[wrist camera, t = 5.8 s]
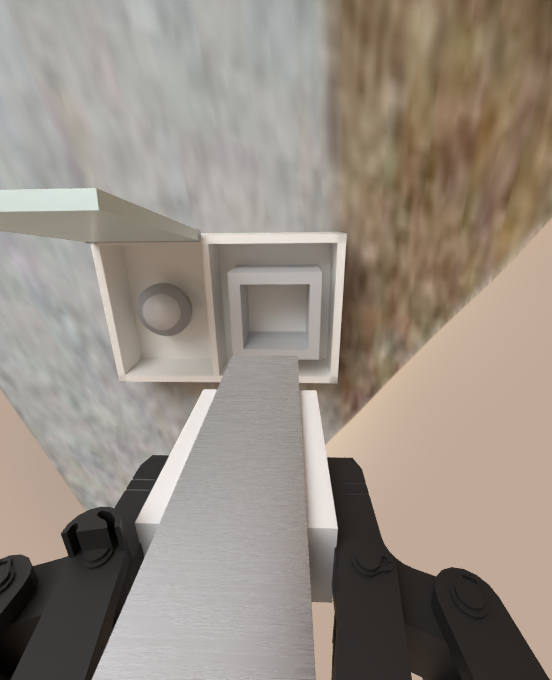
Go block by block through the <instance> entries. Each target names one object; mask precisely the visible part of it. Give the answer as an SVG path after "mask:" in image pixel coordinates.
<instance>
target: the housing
mask: <svg viewBox="0 0 552 680" xmlns="http://www.w3.org/2000/svg"><path fill="white" fill-rule="evenodd" d="M346 237H347V234H346V233H342V232H271V233H201V241H200V242H169V243H90V244H91V249H92V253H93V258H94V263H95V268H96V272H97V277H98V282H99V287H100V291H101V296H102V301H103V305H104V310H105V315H106V320H107V324H108V329H109V334H110V339H111V343H112V348H113V353H114V358H115V362H116V367H117V372H118V377H119V381H137V382H221V379H222V377H223V375H224V373H225V370H226V368H227V366H228V363H229V361H230V359H231V356H232V355H283V356H298V373H299V383H337V381H338V365H339V349H340V333H341V317H342V301H343V285H344V269H345V253H346Z"/></svg>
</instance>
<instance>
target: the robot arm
mask: <svg viewBox="0 0 552 680" xmlns="http://www.w3.org/2000/svg"><path fill="white" fill-rule="evenodd" d="M216 391H217V389H203V391H202V393H201V395H200V397H199V399H198V401H197V403H196V405H195V407H194V409H193V411H192V413H191V414H190V416H189V418H188V420H187V422H186V424H185V426H184V428H183V430H182V432H181V434H180V436H179V438H178V440H177V442H176V444H175V446H174V448H173V450H172V451H171V453H170V455H169V456H166V455H152V456H151V457H150V458H149V459H148V460H146V461H145V462H144V463H143V464H142V465H141V466H140V467H139V469H138V470H137V472H136V474H135V475H134V477H133V480H131V482H130V483H129V485H128V487H127V490H126V491H125V492H124V493H123V495H122V497H121V498H120V500H119V501H118V503H117V505H116V506H115V508H114V509H113V508H111V507H98V508H94V509H90V510H88V511H86V512H84V513H82V514H80V515H79V516H77V517H76V518H75V519H74V520H72V521H71V522H70V523H69V524H68V525H67V526H66V528H65V529H64V530H63V532H62V533H61V535H62V538H63V541H64V544H65V547H66V549H67V553H68V556H67V557H64V558H62V559H58V560H54V561H50V562H47V563H43V564H40V565H36V566H32V564H31V562H30V560H29V558H28V557H26V556H23V555H11V556H8V557H5V558H3V559H0V680H92V678H93V676H94V673H95V671H96V669H97V666H98V664H99V662H100V659H101V657H102V655H103V652H104V650H105V648H106V646H107V643H108V641H109V639H110V636H111V634H112V632H113V629H114V627H115V625H116V622H117V620H118V618H119V615H120V613H121V611H122V608H123V606H124V604H125V602H126V599H127V597H128V595H129V592H130V590H131V588H132V585H133V583H134V581H135V578H136V576H137V574H138V571H139V569H140V567H141V565H142V562H143V560H144V558H145V555H146V553H147V551H148V548H149V546H150V544H151V541H152V539H153V537H154V534H155V532H156V530H157V528H158V525H159V523H160V521H161V518H162V516H163V514H164V511H165V509H166V507H167V504H168V502H169V500H170V497H171V495H172V493H173V490H174V488H175V486H176V484H177V481H178V479H179V477H180V474H181V472H182V470H183V467H184V465H185V463H186V460H187V458H188V456H189V453H190V451H191V449H192V447H193V444H194V442H195V440H196V437H197V435H198V433H199V430H200V428H201V426H202V423H203V421H204V419H205V416H206V414H207V412H208V410H209V407H210V405H211V403H212V400H213V398H214V396H215V393H216ZM300 408H301V426H302V444H303V462H304V480H305V497H306V515H307V533H308V551H309V569H310V587H311V602H330V603H332V598H333V601H334V610H335V615H334V627H333V628H334V629H333V640H332V643H333V655H332V680H412V677H411V672H412V673H414V674H416V675H418V676H420V677H422V678H423V680H550V679H549V678H548V676H547V675H546V673H545V672H544V670H543V668H542V667H541V665H540V663H539V662H538V660H537V658H536V657H535V655H534V653H533V652H532V650H531V649H530V647H529V645H528V644H527V642H526V641H525V639H524V637H523V636H522V634H521V632H520V631H519V629H518V628H517V626H516V624H515V623H514V621H513V620H512V618H511V616H510V615H509V613H508V611H507V610H506V608H505V607H504V605H503V603H502V602H501V600H500V598H499V597H498V596H497V594H496V593H495V592H494V591H493V589H492V588H491V587H490V586H489V585H488V584H487V583H486V582H485V581H483V580H482V579H481V578H480V577H478V576H477V575H475V574H473V573H471V572H469V571H467V570H465V569H460V568H453V567H451V568H447V569H444V570H442V571H441V572H440V573H439V574H438V575H437V576H436V577H435V576H433V575H430V574H427V573H424V572H422V571H419V570H416V569H413V568H411V567H409V566H407V565H405V564H403V563H402V562H400V561H399V560H398V559H396V558H395V557H394V556H393V555H392V554H391V553H390V552H389V550H388V549H387V547H386V546H385V545H384V542H383V540H382V537H381V534H380V531H379V527H378V524H377V520H376V517H375V513H374V510H373V507H372V503H371V499H370V496H369V494H368V489H367V486H366V484H365V479H364V475H363V472H362V469H361V468H360V466H359V465H358V464H357V463H356V462H355V460H354V459H353V458H330V457H328V458H327V456H326V449H325V443H324V436H323V430H322V423H321V417H320V410H319V404H318V397H317V391H316V390H300Z"/></svg>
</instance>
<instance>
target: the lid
mask: <svg viewBox="0 0 552 680" xmlns="http://www.w3.org/2000/svg"><path fill="white" fill-rule="evenodd" d="M0 231H5V232H13V233H20V234H28V235H36V236H43V237H51V238H59V239H67V240H74V241H82V242H85V243H169V242H200V241H201V233H200V230H199V229H194V228H191V227H189V226H186V225H184V224H181V223H179V222H177V221H174V220H172V219H169V218H167V217H165V216H162V215H160V214H157V213H155V212H152V211H150V210H148V209H145V208H143V207H140V206H138V205H136V204H133V203H131V202H128V201H126V200H123V199H121V198H119V197H116V196H114V195H111V194H109V193H107V192H104V191H102V190H99V189H97V188H80V189H27V190H0Z"/></svg>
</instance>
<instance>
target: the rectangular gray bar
mask: <svg viewBox="0 0 552 680" xmlns="http://www.w3.org/2000/svg"><path fill="white" fill-rule="evenodd" d="M313 641H314V640H313V623H312V605H311V587H310V569H309V551H308V533H307V515H306V497H305V480H304V462H303V444H302V426H301V408H300V390H299V373H298V356H283V355H232V356H231V359H230V361H229V363H228V366H227V368H226V370H225V373H224V375H223V377H222V379H221V382H220V384H219V386H218V389H217V391H216V393H215V396H214V398H213V400H212V403H211V405H210V407H209V410H208V412H207V414H206V416H205V419H204V421H203V423H202V426H201V428H200V430H199V433H198V435H197V437H196V440H195V442H194V444H193V447H192V449H191V451H190V453H189V456H188V458H187V460H186V463H185V465H184V467H183V470H182V472H181V474H180V477H179V479H178V481H177V484H176V486H175V488H174V490H173V493H172V495H171V497H170V500H169V502H168V504H167V507H166V509H165V511H164V514H163V516H162V518H161V521H160V523H159V525H158V528H157V530H156V532H155V534H154V537H153V539H152V541H151V544H150V546H149V548H148V551H147V553H146V555H145V558H144V560H143V562H142V565H141V567H140V569H139V571H138V574H137V576H136V578H135V581H134V583H133V585H132V588H131V590H130V592H129V595H128V597H127V599H126V602H125V604H124V606H123V608H122V611H121V613H120V615H119V618H118V620H117V622H116V625H115V627H114V629H113V632H112V634H111V636H110V639H109V641H108V643H107V646H106V648H105V650H104V652H103V655H102V657H101V659H100V662H99V664H98V666H97V669H96V671H95V673H94V676H93V678H92V680H316V676H315V659H314V642H313Z"/></svg>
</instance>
